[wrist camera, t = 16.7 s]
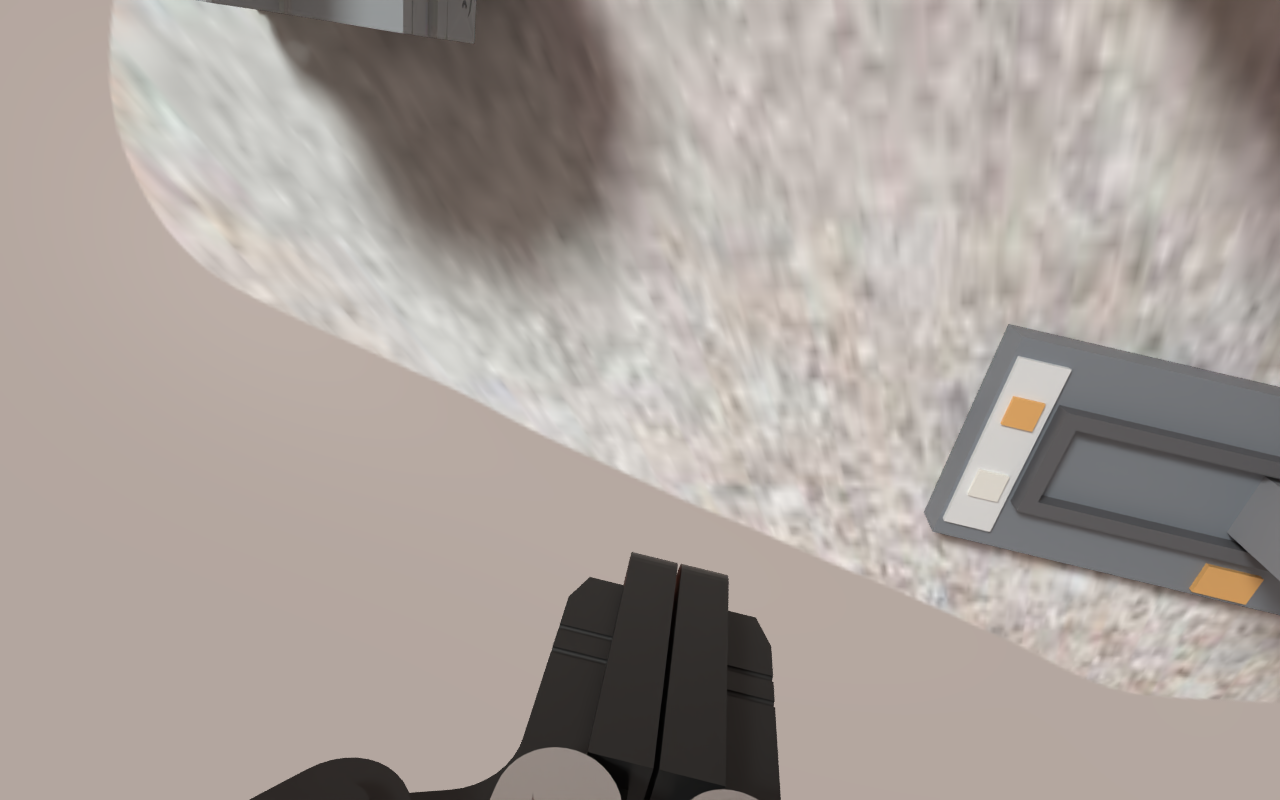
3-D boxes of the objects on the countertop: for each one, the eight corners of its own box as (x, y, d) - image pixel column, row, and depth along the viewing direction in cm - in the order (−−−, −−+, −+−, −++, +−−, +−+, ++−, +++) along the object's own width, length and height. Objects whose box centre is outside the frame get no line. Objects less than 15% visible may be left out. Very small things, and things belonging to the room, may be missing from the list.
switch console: (1008, 324, 37) (1030, 343, 34) (1627, 468, 36) (1699, 499, 34) (924, 512, 42) (937, 541, 40) (1465, 642, 41) (1516, 681, 39)
